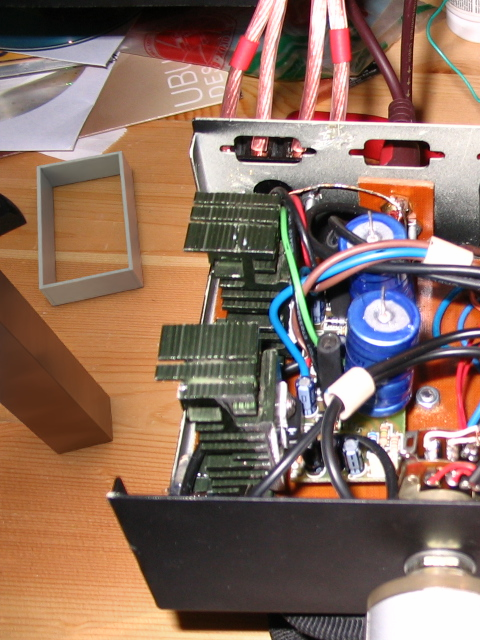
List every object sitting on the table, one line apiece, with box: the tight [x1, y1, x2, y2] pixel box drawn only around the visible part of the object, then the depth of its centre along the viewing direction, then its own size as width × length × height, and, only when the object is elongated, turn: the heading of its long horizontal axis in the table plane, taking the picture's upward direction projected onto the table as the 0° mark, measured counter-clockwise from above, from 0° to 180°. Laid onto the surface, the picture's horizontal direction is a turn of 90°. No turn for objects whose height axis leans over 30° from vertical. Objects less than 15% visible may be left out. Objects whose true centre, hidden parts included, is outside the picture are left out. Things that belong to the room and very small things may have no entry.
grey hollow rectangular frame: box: [36, 150, 144, 307], centre depth 85 cm, size 9×18×3 cm, turn 17°
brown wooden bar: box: [0, 269, 114, 455], centre depth 64 cm, size 5×5×26 cm
